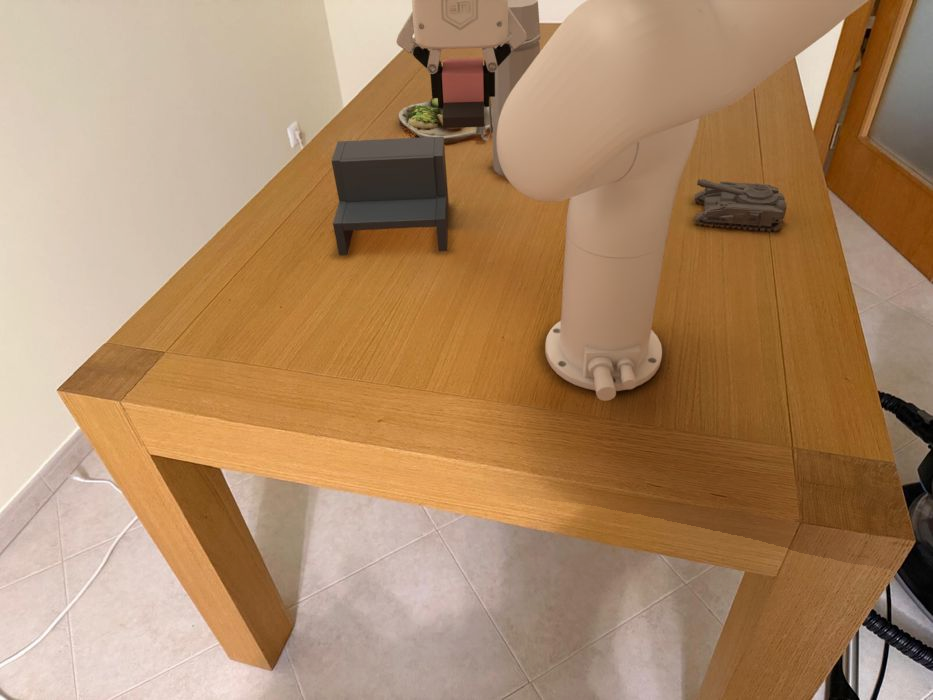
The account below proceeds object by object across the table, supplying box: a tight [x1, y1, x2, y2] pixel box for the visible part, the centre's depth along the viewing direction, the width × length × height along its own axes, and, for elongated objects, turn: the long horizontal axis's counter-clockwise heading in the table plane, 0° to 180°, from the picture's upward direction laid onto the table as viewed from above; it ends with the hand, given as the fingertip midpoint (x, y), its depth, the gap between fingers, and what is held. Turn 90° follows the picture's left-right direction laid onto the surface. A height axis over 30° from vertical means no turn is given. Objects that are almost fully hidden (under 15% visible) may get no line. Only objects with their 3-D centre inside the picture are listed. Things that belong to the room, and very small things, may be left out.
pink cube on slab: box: [442, 57, 484, 128], centre depth 77 cm, size 9×5×4 cm, turn 0°
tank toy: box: [694, 178, 788, 232], centre depth 94 cm, size 12×10×5 cm
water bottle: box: [480, 0, 542, 178], centre depth 101 cm, size 9×8×25 cm
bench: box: [331, 137, 450, 256], centre depth 93 cm, size 12×15×11 cm
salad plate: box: [397, 97, 493, 144], centre depth 122 cm, size 19×18×5 cm
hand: (463, 101), depth 80 cm, fingers closed on pink cube on slab, 4 cm apart
